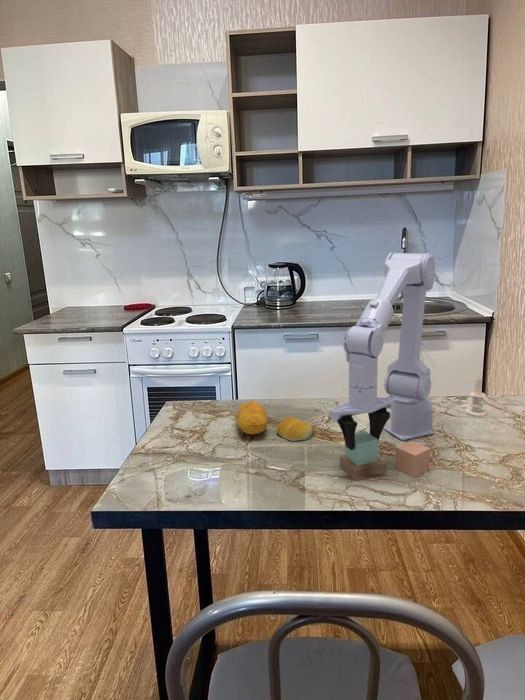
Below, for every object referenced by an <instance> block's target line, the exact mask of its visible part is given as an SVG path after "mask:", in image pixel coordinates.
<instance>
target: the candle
mask: <svg viewBox="0 0 525 700" xmlns="http://www.w3.org/2000/svg"><path fill="white" fill-rule="evenodd" d="M482 384H483V378H482V377H481V378H480V377H476V378H475V383H474V391H471V392H470V393H469V395H470V396H471V397H473V398H472V402H471V403H470V405H469V406H470V407H469V408H467V409H465V413H466V415H468V416H470V417H475V418H481V417H486V416H487V414H488V412H487V411H486V410H485V409H483V408H484V404H483V403H482V402H483V398H484V397H486V393H484V392H482V387H483V386H482Z"/></svg>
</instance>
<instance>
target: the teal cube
mask: <svg viewBox="0 0 525 700" xmlns="http://www.w3.org/2000/svg"><path fill="white" fill-rule="evenodd" d="M344 454H345V457H347V458H348V459H349V460H350V461H352V462H353V463H354V464H355V465H357V466H360V465H364V464H368V463H372V462H376V461H378V458H379V442H378V439H377V438H375V437H374V436H372V435H371V434H370V432H368V431H366V430H362V431H356V432H355V445H354V450H350V449H349V448H347V447H346V444H345V443H344Z"/></svg>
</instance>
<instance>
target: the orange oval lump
mask: <svg viewBox="0 0 525 700" xmlns="http://www.w3.org/2000/svg"><path fill="white" fill-rule="evenodd" d="M236 422H237V423H236V424H237V427H238V428H239V430H241V431H243V432H244V433H245V434H249V435H258V434H260V433H262V432H265V430H266V428H267V426H268V415H267V412H266V410H265V408H264V406H262V405H261V404H260V403H259V402H258V401H256V400H255V401H254V400H253V401H252V400H251V401H246V402H244V403H242V404H241V405H240V406H238V410H237V414H236Z"/></svg>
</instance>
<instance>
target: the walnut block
mask: <svg viewBox="0 0 525 700" xmlns="http://www.w3.org/2000/svg"><path fill="white" fill-rule="evenodd" d="M339 468H341V469H342V470H343V471H344V472H345V473H346V474H347V475H348V476H349V477H350V478H351V479H352V480H353V481H354V482H359V481H363V480H368V479H373V478H377V477H382V476H385V475H386V463H385V461H383V460H382V459H380V458H379V457H378V461H376V462H372V463H368V464H364V465H360V466H357V465H355V464H354V463H353V462H352V461H350V460H349V459H348V458H347V457H345V453H344V454H341V455H339Z"/></svg>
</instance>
